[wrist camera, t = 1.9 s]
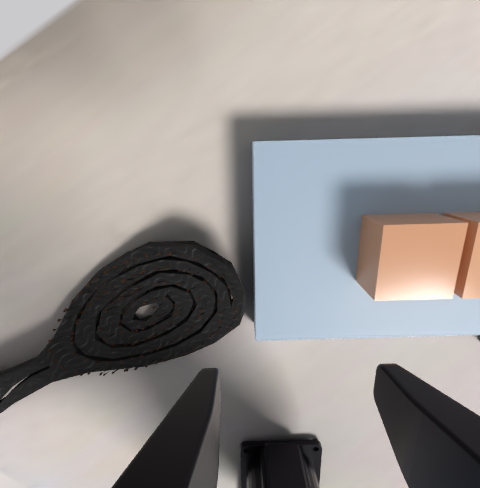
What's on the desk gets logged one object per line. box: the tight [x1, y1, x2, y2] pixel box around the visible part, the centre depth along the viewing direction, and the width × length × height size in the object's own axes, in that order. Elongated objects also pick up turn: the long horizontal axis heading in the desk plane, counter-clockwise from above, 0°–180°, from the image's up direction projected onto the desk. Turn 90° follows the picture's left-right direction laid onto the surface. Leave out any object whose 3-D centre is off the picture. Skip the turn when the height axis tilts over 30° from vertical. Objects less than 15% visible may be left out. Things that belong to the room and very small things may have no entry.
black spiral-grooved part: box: [0, 241, 246, 413], centre depth 20 cm, size 8×4×25 cm
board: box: [252, 135, 480, 341], centre depth 18 cm, size 12×16×2 cm
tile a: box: [356, 213, 468, 301], centre depth 15 cm, size 4×4×2 cm
